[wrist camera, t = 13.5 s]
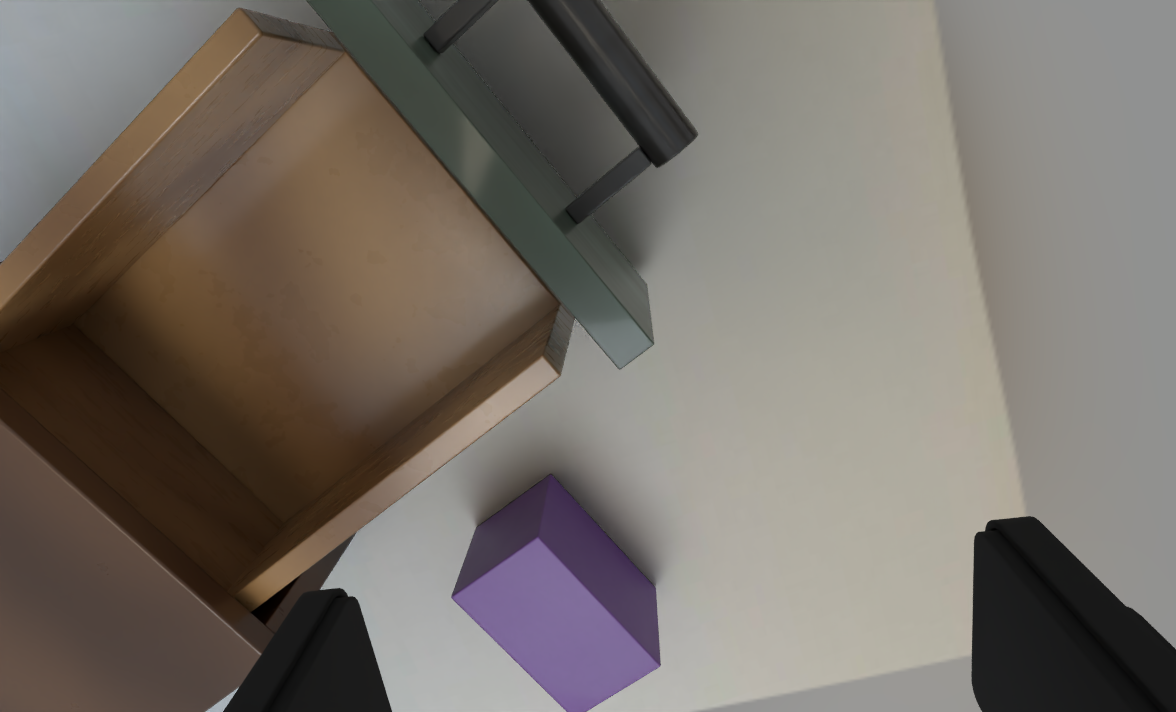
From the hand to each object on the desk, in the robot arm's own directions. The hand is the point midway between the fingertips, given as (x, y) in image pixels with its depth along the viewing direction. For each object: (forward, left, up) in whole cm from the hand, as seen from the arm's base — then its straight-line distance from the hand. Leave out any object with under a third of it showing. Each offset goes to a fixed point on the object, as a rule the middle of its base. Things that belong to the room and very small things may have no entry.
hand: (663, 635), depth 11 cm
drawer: (-8, -5, -16) cm, 19 cm away
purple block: (+6, -9, -17) cm, 20 cm away
